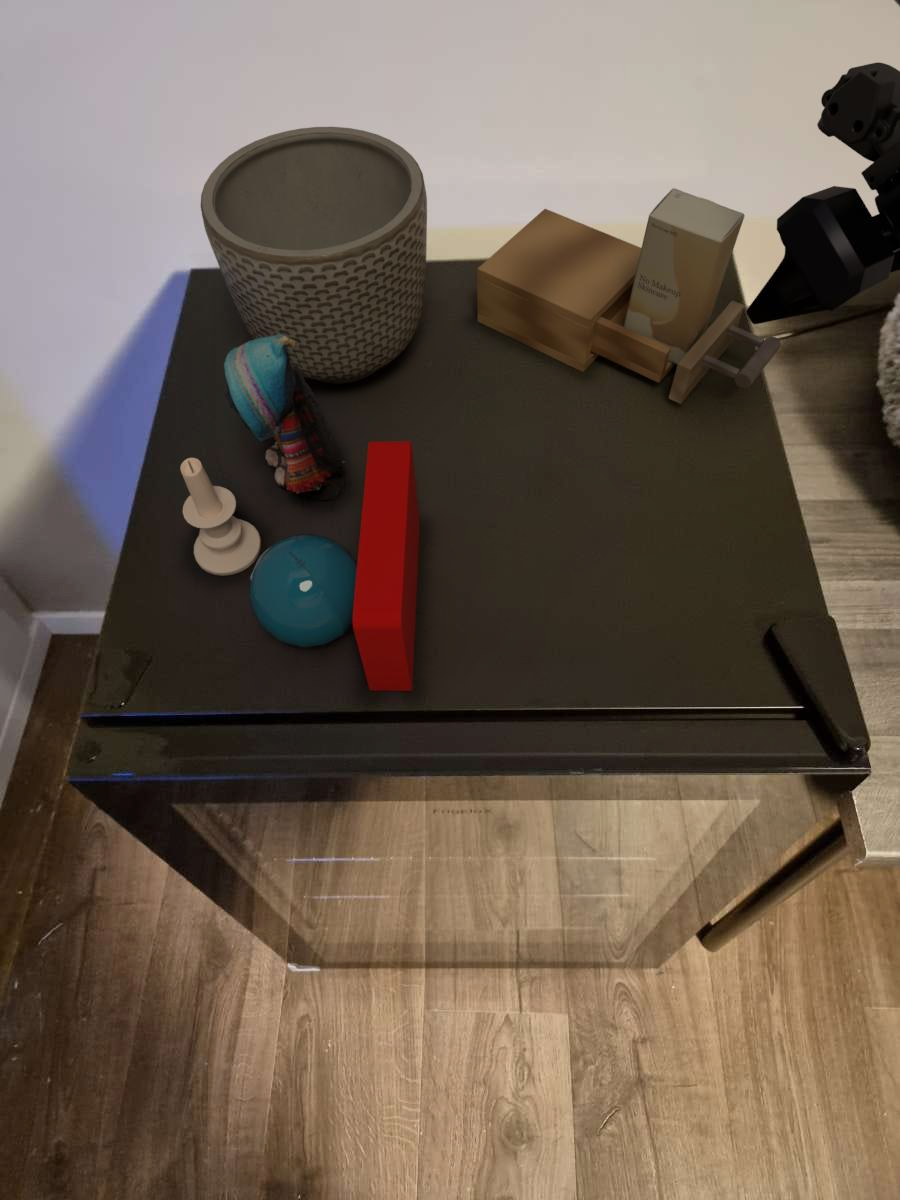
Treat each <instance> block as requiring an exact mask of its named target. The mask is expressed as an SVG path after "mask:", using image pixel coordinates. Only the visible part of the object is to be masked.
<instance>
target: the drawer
mask: <svg viewBox="0 0 900 1200" xmlns="http://www.w3.org/2000/svg"><path fill="white" fill-rule="evenodd" d="M633 284H634V282H633V283H632V284H631V285H630V286H629V287H628V288H627V289H626V290H625V291H624V293H623V294H622V295H621V296H620V297H619V298H618V299H617V300H616V301H615V302H614V303H613V304H612V305H611V306H610V307H609V308H608V309H607V310H606V311H605V312H604V313H603V314H602V315H601V316H600V317H599V318H598V319H597V320H596V322H595V325H594V331H593V338H592V344H591V351H592V352H594V353H596V354H598V355H599V356H601V357H603V358H605V359H607V360H609V361H611V362H613V363H615V364H617V365H620V366H621V367H624V368H626V369H628V370H631V371H633V372H634V373H637V374H639V375H640V376H643V377H645V378H648V379H649V380H652V381H654V382H655V383H658V384H660V382H662V380H663V379H664V378H665V377H666V376H667V374H668V373H670V371H671V370H672V369H673V368H674V366H676V369H675V371H674V375H673V380H672V384H671V386H670V391H669V395H668V399H669V400H671V401H673V402H675V403H677V404H679V405H681V404H682V403H683V402H684V401H685V400H686V398H687V397H688V396H689V395H690V393H691V392H692V391H693V390H694V389H695V387H696V386H697V385H698V384H699V382H700V381H701V380H702V379H703V377H704V376H705V375H706V374H707V373H708V372H709V370H710V369H712V370H714V371H716V372H719V373H721V374H723V375H726V376H727V377H730V378H732V379H734V383H735V384H736V386H737V387H738V388H741V389H748V388H750V387H751V386H752V384H753V383H754V382H755V381H756V379H757V378H758V377H759V376H760V374H761V373H762V371H763V370H764V369H765V368H766V366H767V365H768V364H769V363H770V362H771V360H772V359H773V358H774V356H775V355H776V354H777V353H778V351H779V350H780V348H781V341H780V340H779V338H777V337H775V336H767V337H766V338H764V337H761V336H759V335H756V334H754V333H752V332H749V331H747V330H744V329H742V328H740V327H739V323H740V321H741V317H742V315H743V312H744V310H745V305H744V304H742V303H740V302H737V301H735V300H731V301H730V302H729V303H728V304H727V306H726V307H725V308H724V309H723V310H722V312H721V313H720V314H718V316H717V318H715V320H714V321H713V322H712V323H711V324H710V325H709V327H707V329H706V331H705V333H704V334H703V335H702V336H701V337H700V338H699V340H698V341H697V342H696V343H695V344H694V345H693V347H692V348H691V349H690V350H689V351H688V352H687V354H686V355H685V356H684V357H683V358H682V359H681V361H680V362H679V363H678V364H675V363H673V362H671V361H668V359H669V355H670V351H671V348H670V347H667V346H665V345H663V344H661V343H658V342H656V341H654V340H652V339H650V338H647V337H645V336H643V335H641V334H638V333H636V332H634V331H632V330H630V329H627V328H625V327H624V323H625V319H626V314H627V310H628V306H629V301H630V297H631V292H632V288H633ZM734 338H736V339H738V340H741V341H742V342H745V343H747V344H749V345H752V346H754V347H756V348H757V349H756V350H755V352H754V353H753V354H751V356H750V358H749V359H748V360H747V361H746V363H745V364H744V365H743V367H742V368H741V369H739V368H737V367H735V366H732V365H730V364H728V363H726V362H724V361H722V360H719V358H720V357H721V356H722V355H723V353H725V351H726V350H727V349H728V348H729V346H731V344H732V342H733V341H734Z"/></svg>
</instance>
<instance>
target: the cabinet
mask: <svg viewBox="0 0 900 1200" xmlns="http://www.w3.org/2000/svg"><path fill="white" fill-rule="evenodd" d="M641 248H642V247H640V246H637V245H635V244H633V243H631V242H628V241H626V240H624V239H622V238H621V239H620V238H618V237H615V236H613V235H611V234H608V233H606V232H604V231H601V230H599V229H596V228H594V227H591V226H589V225H587V224H584V223H582V222H580V221H577V220H574V219H572V218H570V217H567V216H565V215H562V214H560V213H557V212H554V211H553V210H549V209H547V208H544V209H542V210H541V211H540V212H539V213H538V214H537V215H536V216H535V217H534V218H532V219H531V220H530V221H529V222H527V224H526V225H525V226H523V227H522V228H521V229H520V230H519V231H518V232H517V233H516V234H515V235H513V236H512V237H511V238H510V239H509V240H508V241H506V243H504V244H503V246H501V247H500V248H499V249H498V250H497V251H495V253H493V254H491V256H490V257H488V258H487V259H486V261H484V262H483V263H481V265H480V266H478V267H477V277H476V281H477V283H476V284H477V285H476V286H477V289H476V290H477V291H476V292H477V293H476V299H477V300H476V302H477V304H476V305H477V306H476V307H477V310H476V312H477V315H476V317H477V319H476V320H477V323H479V324H482V325H484V326H486V327H488V328H490V329H492V330H494V331H496V332H498V333H500V334H503V335H504V336H507V337H509V338H511V339H513V340H515V341H517V342H519V343H522V344H523V345H525V346H526V347H527V346H528V347H530V348H531V349H533V350H536V351H538V352H539V353H541V354H545V355H546V356H548V357H550V358H553V359H555V360H557V361H558V362H561V363H562V364H565V365H567V366H569V367H571V368H573V369H575V370H577V371H579V372H581V373H584V372H585V371H586V370H587V369H588V368H589V366H590V365H591V364H592V363H593V362H594V361H595V360H596V359H597V358H598V357H599V356H600V355H598V354H596V353H594V352H592V351H591V344H592V338H593V331H594V325H595V322H596V320H597V319H598V318H599V317H600V316H601V315H602V314H603V313H604V312H605V311H606V310H607V309H608V308H609V307H610V306H611V305H612V304H613V303H614V302H615V301H616V300H617V299H618V298H619V297H620V296H621V295H622V294H623V293H624V291H625V290H626V289H627V288H628V287H629V286H630V285H631V284H632V283H633V282H634V279H635V274H636V270H637V265H638V261H639V257H640V252H641Z"/></svg>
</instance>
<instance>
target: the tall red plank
mask: <svg viewBox="0 0 900 1200" xmlns="http://www.w3.org/2000/svg"><path fill="white" fill-rule="evenodd" d="M413 454H414V452H413V443H412V441H411V440H410V441H409V440H408V441H407V440H406V441H404V440H402V441H401V440H400V441H399V440H398V441H396V440H395V441H394V440H392V441H389V440H387V441H383V440H382V441H368V446H367V454H366V455H367V456H366V467H365V477H364V478H365V479H364V488H363V497H362V499H363V501H362V510H361V521H360V531H359V541H358V542H359V543H358V553H357V574H356V585H355V596H354V607H353V624H352V629H353V632H354V636H355V640H356V643H357V647H358V652H359V655H360V659H361V663H362V667H363V670H364V674H365V678H366V681H367V685H368V688H369V691H370V692H371V691H374V692H375V691H376V692H377V691H379V692H380V691H381V692H386V691H387V692H397V691H398V692H411V691H413V685H414V684H413V683H414V662H415V661H414V660H415V641H416V639H415V638H416V637H415V636H416V618H417V617H416V616H417V596H418V595H417V594H418V571H419V552H420V551H419V550H420V549H419V548H420V547H419V546H420V513H419V503H418V496H417V495H418V494H417V492H418V491H417V482H416V473H415V463H414V462H415V461H414V455H413Z"/></svg>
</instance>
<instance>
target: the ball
mask: <svg viewBox="0 0 900 1200" xmlns="http://www.w3.org/2000/svg"><path fill="white" fill-rule="evenodd" d="M357 564H358V562H356V560H355V559H354V557H353V556H352V554H351V553H350V551H349V550H348V549H347V548H346V547H344V546H343V545H341V544H339V543H338V542H336V541H335V540H333V539H331V538H329V537H327V536H323V535H320V534H319V535H318V534H313V533H302V534H294V535H289V536H286V537H285V538H283V539H280V540H278V541H276V542H274V543H272V544H271V545H269V547H268V548H267V549H266V550H265V551H264V552H263V553H262V554H261V555H259V556H258V558H257V561H256V563H255V565H254V567H253V570H252V572H251V574H250V576H249V583H248V584H249V585H248V586H249V588H248V590H249V604H250V607H251V610H252V612H253V614H254V615H255V618H256V619H257V621H258V623H259V624H260V626H261V628H262V629H263V630H264V631H265V632H266V633H268V634H269V635H271V636H273V637H274V638H276V639H277V640H278V641H280V642H281V643H283V644H285V645H289V646H295V647H299V648H304V649H305V648H306V649H307V648H313V647H321V646H326V645H327V644H329V643H331V642H333V641H335V640H337V639H339V638H340V637H343V636H344V635H345V633H346V632H347V631H348V630H349V629H350V628H351V627H353V607H354V596H355V585H356V574H357Z"/></svg>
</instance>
